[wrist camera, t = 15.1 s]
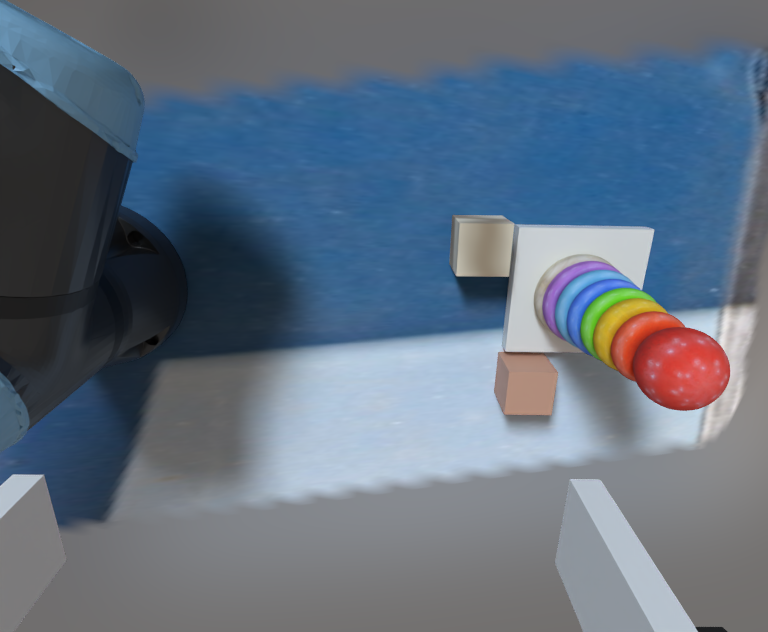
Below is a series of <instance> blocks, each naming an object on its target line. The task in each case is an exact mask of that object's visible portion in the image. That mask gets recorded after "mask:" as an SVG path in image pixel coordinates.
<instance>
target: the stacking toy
mask: <svg viewBox="0 0 768 632" xmlns="http://www.w3.org/2000/svg"><path fill="white" fill-rule="evenodd" d="M534 308H535V312H536V315H537V317H538V319H539V321H540V322H541V323H542V325H543V326H544V327H545V328H546V329H547V330H549V331H550V332H552V333H553V334H555V335H556V336H558V337H559V338H561V339H562V340H564V341H567V342H568V343H570V344H571V345H573V346H575V347H577V348H579V349H580V350H581V351H583V352H584V353H586V354H588V355H591V356H594V357H595V358H597V359H599V360H600V361H603V362H604V363H605V364H606V365H607V366H609V367H610V368H612V369H615V370H617V371H619V372H620V373H621V374H622V375H623V376H625V377H626V378H628V379H630V380H632V381H635V382H637V384H638V386H639V388H640V389H641V390H642V392H643V393H644V394H645V395H646V396H647V397H648V398H649V399H651V400H652V401H654V402H655V403H657V404H659V405H661V406H663V407H666V408H669V409H674V410H682V411H687V410H695V409H699V408H702V407H705V406H707V405H709V404H710V403H712V402H713V401H715V400H716V399H717V398H718V397H719V396H720V395H721V394H722V393H723V391H724V390H725V388H726V386H727V384H728V382H729V377H730V365H729V360H728V358H727V356H726V354H725V352H724V350H723V349H722V347H721V346H720V345H719V344H718V343H717V342H716V341H715V340H714V339H713V338H711V337H710V336H708V335H707V334H705V333H703V332H701V331H698V330H695V329H691V328H685V326H684V325H683V323H682V322H681V321H679V320H678V319H677V318H675V317H674V316H672V315H670V314H668V313H667V312H666V310H665V309H664V308H662V307H661V306H660V305H659V304H657V302H656V301H655V300H654V299H653V298H652V297H651V296H650V295H648V294H647V293H645V292H643V291H642V290H641V289H640V288H639V287H637V286H636V285H635V284H634V283H633V282H632V281H631V280H630V279H629V278H628V277H626V276H625V275H623V274H622V273H621V272H620V271H619V270H617V269H616V268H615V267H614V266H613V265H612V264H610V263H609V262H608V261H606V260H605V259H603V258H601V257H598V256H595V255H590V254H577V255H572V256H568V257H565V258H563V259H561V260H559V261H557V262H556V263H554V264H553V265H552V266H550V267H549V268H548V269H547V270H546V272H545V273H544V274H543V275H542V277H541V278H540V280H539V282H538V284H537V286H536V289H535V293H534Z"/></svg>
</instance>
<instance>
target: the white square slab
mask: <svg viewBox="0 0 768 632" xmlns="http://www.w3.org/2000/svg"><path fill="white" fill-rule="evenodd" d="M653 234H654V229H651V228H648V227H632V226H574V225H516V224H515V229H514V238H513V247H512V257H511V266H510V275H509V284H508V293H507V302H506V311H505V320H504V329H503V339H502V347H503V348H504V350H505V352H570V353H584V352H583V351H581V350H580V349H579V348H577V347H575V346H573V345H571V344H570V343H568V342H567V341H564V340H562V339H561V338H559V337H558V336H556V335H555V334H553V333H552V332H550V331H549V330H547V329H546V328H545V327H544V326H543V325H542V323H541V322H540V321H539V319H538V317H537V315H536V312H535V308H534V293H535V289H536V286H537V284H538V282H539V280H540V278H541V277H542V275H543V274H544V273H545V272H546V270H547V269H548V268H549V267H550V266H552V265H553V264H554V263H556V262H557V261H559V260H561V259H563V258H565V257H568V256H572V255H577V254H590V255H595V256H598V257H601V258H603V259H605V260H606V261H608V262H609V263H610V264H612V265H613V266H614V267H615V268H616V269H617V270H619V271H620V272H621V273H622V274H623V275H625V276H626V277H628V278H629V279H630V280H631V281H632V282H633V283H634V284H635V285H636V286H637V287H639V288H640V289H641V290H642V287H643V282H644V278H645V273H646V268H647V263H648V258H649V253H650V249H651V244H652V239H653Z"/></svg>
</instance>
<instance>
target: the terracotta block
mask: <svg viewBox="0 0 768 632" xmlns="http://www.w3.org/2000/svg"><path fill="white" fill-rule="evenodd" d="M557 377H558V372H557V370H556V369H555V368H554V366H553V365H552V364H551V362H550V361H549V360H548V358H547V357H546V356H545V354H544V353H531V352H498V361H497V370H496V379H495V388H494V393H495V395H496V397H497V399H498V402H499V404H500V406H501V408H502V411H503V413H504V415H552V408H553V402H554V396H555V390H556V383H557Z"/></svg>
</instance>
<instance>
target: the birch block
mask: <svg viewBox="0 0 768 632" xmlns="http://www.w3.org/2000/svg"><path fill="white" fill-rule="evenodd" d="M513 233H514V223H512V222H511V221H509V220H508V219H506V218H505V217H503V216H483V215H452V230H451V247H450V263H449V264H450V265H451V267H452V269H453V271H454V273H455V275H456V276H483V277H509V271H510V262H511V252H512V243H513Z"/></svg>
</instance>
